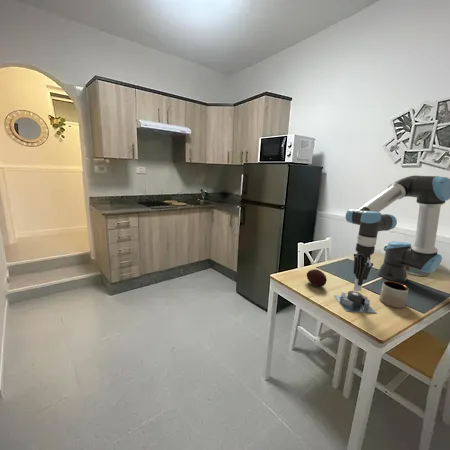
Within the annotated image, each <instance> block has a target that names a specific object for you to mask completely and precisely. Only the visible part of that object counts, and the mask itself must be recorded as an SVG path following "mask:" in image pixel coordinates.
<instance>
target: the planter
mask: <svg viewBox="0 0 450 450" xmlns="http://www.w3.org/2000/svg"><path fill="white" fill-rule="evenodd" d="M409 289H410V288H409V287H408V286H407V285H405V284H403V283H402V282H397V281H392V280H385V281H382V285H381V289H380V293H379V300H380V301H381V302H382V303H383V304H385V305H386V306H389V307H392V308H395V309H396V308H397V309H401V308H404V307H406V302H407V298H408V295H409Z"/></svg>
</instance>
